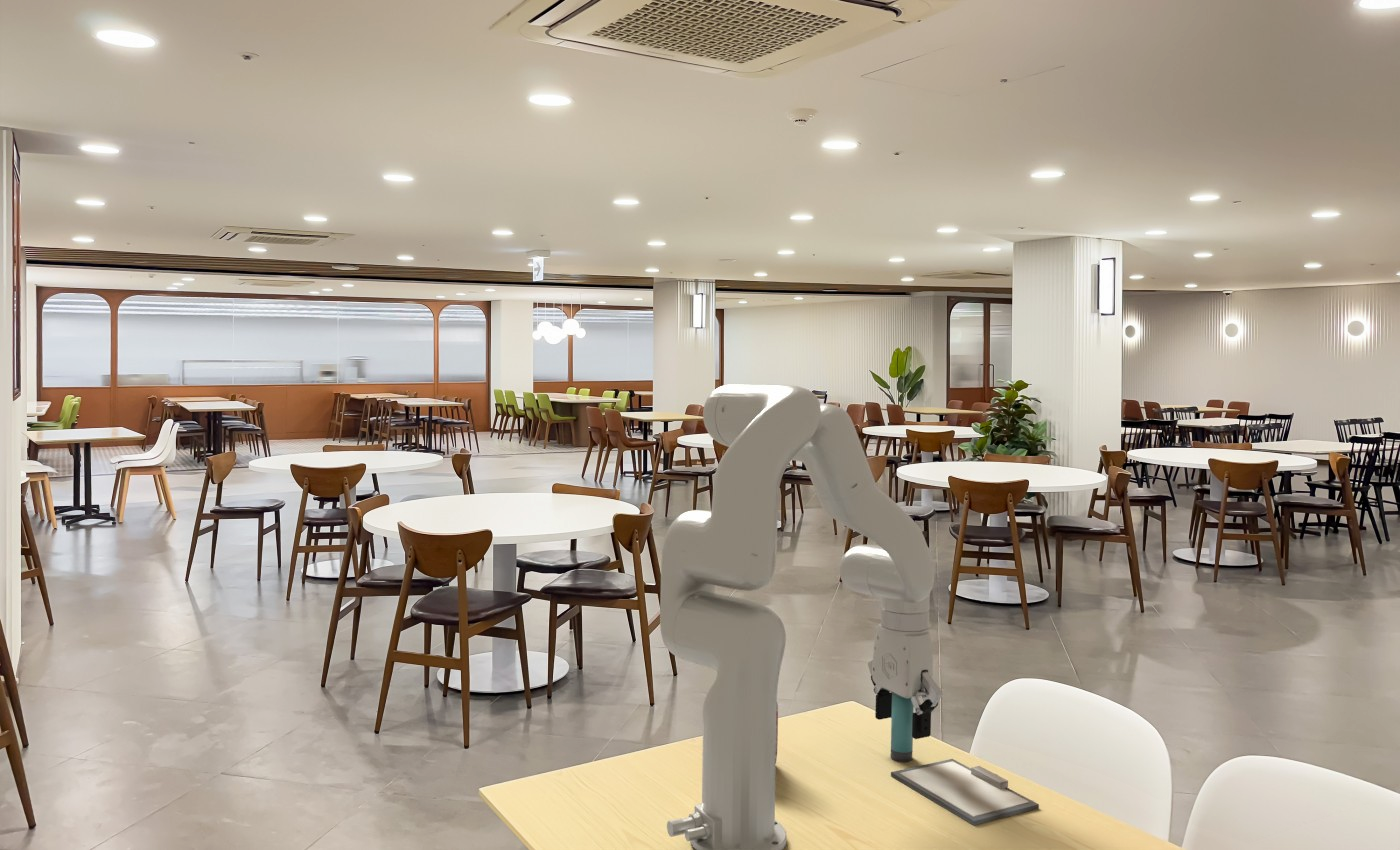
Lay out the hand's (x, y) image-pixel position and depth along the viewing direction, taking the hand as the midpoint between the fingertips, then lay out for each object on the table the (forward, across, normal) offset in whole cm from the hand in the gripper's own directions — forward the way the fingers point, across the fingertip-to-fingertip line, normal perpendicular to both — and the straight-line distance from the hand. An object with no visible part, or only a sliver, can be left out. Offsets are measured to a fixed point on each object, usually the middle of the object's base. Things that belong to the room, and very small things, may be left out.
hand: (902, 727), depth 156 cm
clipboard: (+5, +14, 0) cm, 15 cm away
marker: (+5, 0, 0) cm, 5 cm away
